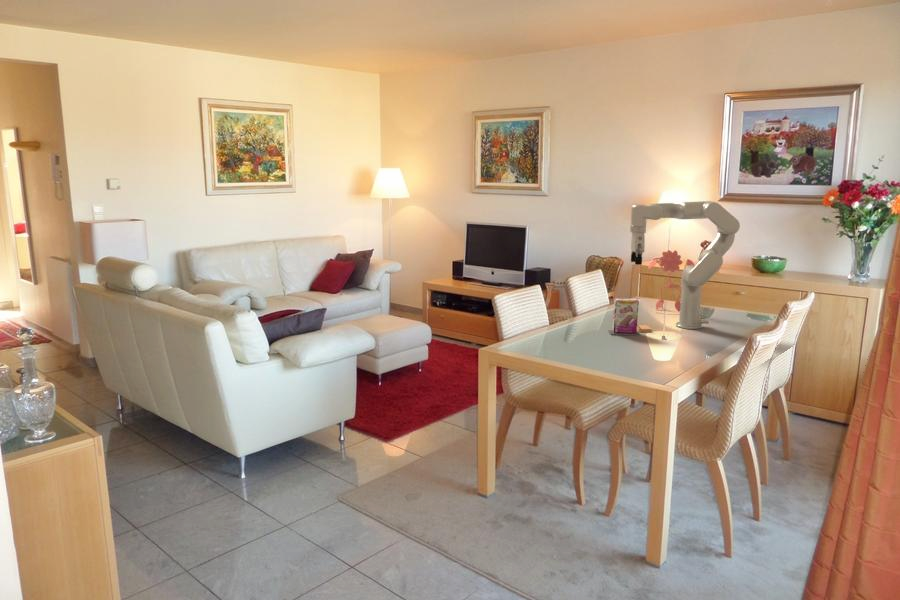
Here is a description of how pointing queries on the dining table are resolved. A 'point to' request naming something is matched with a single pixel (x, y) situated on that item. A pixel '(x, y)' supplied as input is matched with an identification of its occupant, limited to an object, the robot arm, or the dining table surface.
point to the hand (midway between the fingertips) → (636, 263)
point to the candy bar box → (625, 315)
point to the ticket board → (643, 328)
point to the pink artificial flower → (670, 263)
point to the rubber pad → (623, 333)
